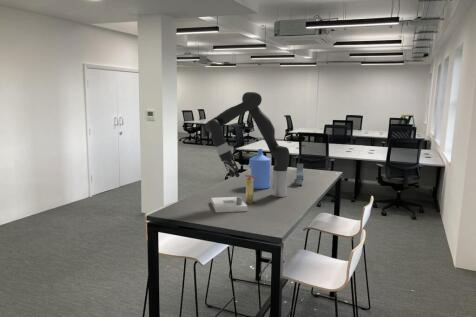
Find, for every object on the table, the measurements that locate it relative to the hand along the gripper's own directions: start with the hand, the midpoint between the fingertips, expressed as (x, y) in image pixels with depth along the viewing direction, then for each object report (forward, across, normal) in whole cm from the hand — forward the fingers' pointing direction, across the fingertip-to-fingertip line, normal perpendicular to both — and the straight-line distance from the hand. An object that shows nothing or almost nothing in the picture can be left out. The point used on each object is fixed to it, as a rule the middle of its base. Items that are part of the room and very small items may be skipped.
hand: (235, 176), depth 226 cm
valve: (+20, +8, -3) cm, 22 cm away
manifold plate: (+14, +4, +11) cm, 18 cm away
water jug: (+23, +48, -28) cm, 60 cm away
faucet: (+37, +54, -62) cm, 91 cm away
